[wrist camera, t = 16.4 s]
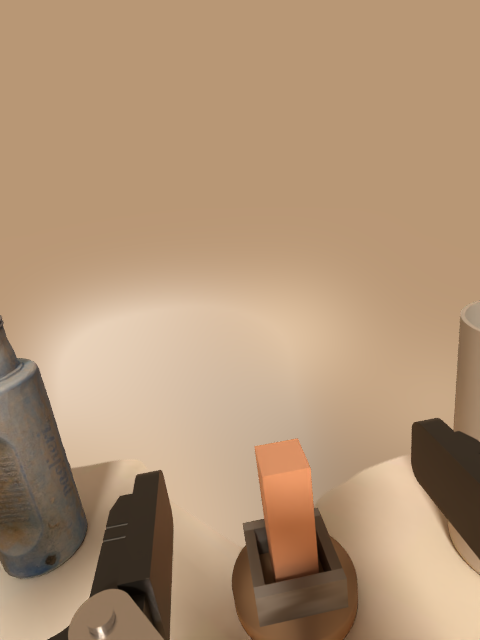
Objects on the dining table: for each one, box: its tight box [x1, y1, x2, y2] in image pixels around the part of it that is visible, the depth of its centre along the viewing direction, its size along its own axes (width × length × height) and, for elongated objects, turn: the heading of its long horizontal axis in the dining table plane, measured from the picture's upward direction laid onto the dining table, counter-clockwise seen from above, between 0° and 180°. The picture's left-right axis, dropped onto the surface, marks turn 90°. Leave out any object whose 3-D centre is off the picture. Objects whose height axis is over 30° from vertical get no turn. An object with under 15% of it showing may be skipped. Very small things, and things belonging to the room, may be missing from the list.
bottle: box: [0, 315, 87, 579], centre depth 44 cm, size 10×10×30 cm
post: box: [255, 439, 319, 583], centre depth 36 cm, size 4×4×14 cm
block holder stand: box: [232, 508, 358, 640], centre depth 38 cm, size 12×12×6 cm
